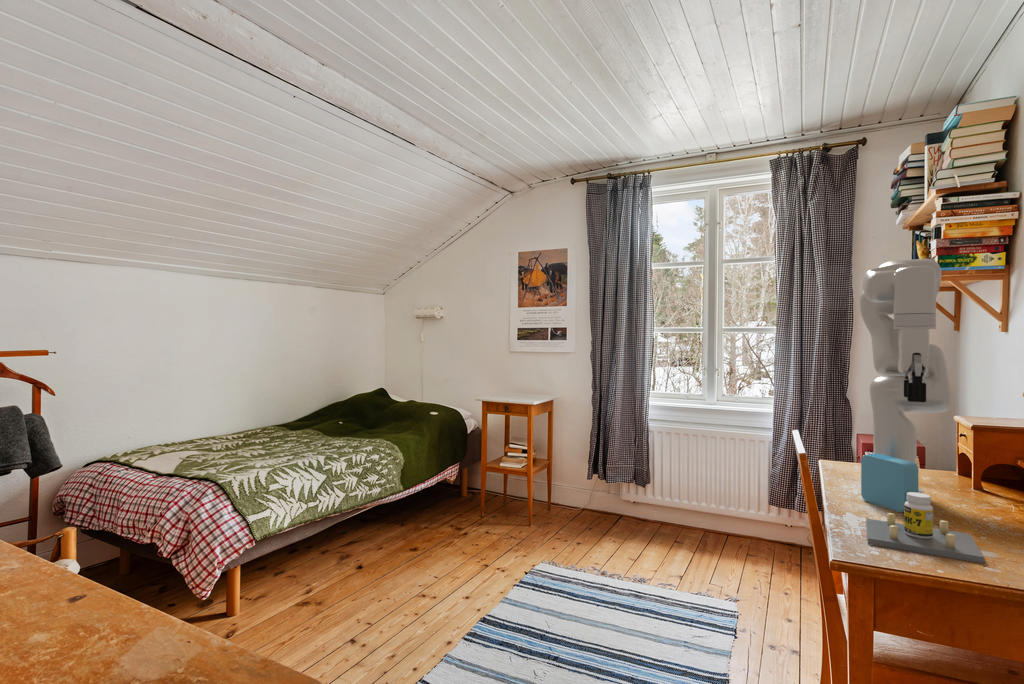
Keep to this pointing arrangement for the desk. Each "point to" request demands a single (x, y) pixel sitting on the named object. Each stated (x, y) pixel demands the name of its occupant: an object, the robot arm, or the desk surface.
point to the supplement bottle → (918, 515)
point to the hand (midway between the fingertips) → (914, 399)
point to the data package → (887, 480)
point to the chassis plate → (923, 540)
